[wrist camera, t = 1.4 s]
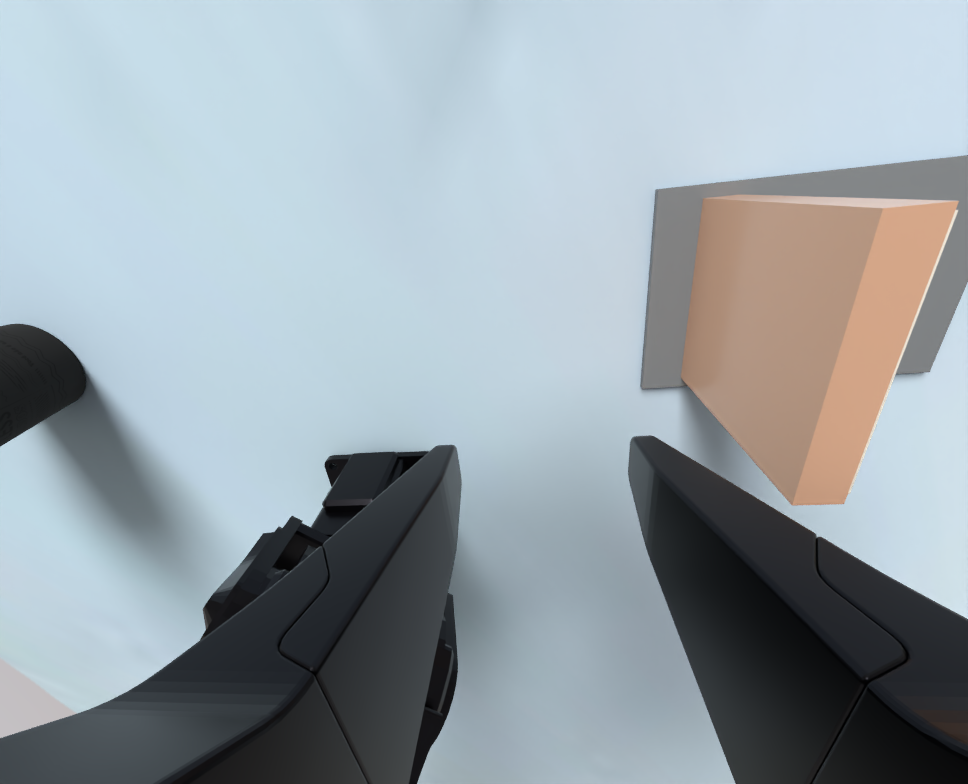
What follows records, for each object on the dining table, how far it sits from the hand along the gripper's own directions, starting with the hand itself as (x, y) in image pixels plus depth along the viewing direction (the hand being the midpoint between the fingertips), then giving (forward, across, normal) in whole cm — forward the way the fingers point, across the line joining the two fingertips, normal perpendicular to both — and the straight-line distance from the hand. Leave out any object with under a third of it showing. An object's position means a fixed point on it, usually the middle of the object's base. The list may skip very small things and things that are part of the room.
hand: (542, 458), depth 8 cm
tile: (+12, -8, 0) cm, 14 cm away
